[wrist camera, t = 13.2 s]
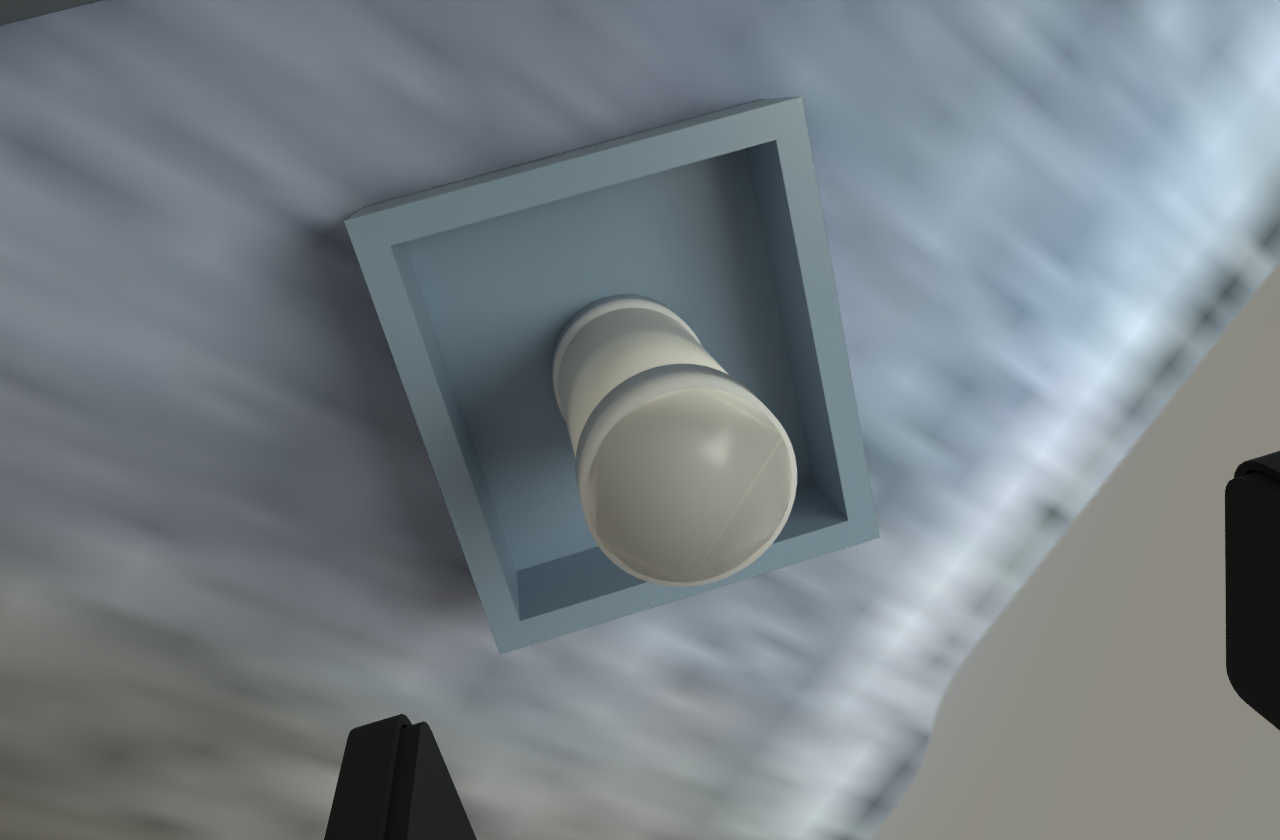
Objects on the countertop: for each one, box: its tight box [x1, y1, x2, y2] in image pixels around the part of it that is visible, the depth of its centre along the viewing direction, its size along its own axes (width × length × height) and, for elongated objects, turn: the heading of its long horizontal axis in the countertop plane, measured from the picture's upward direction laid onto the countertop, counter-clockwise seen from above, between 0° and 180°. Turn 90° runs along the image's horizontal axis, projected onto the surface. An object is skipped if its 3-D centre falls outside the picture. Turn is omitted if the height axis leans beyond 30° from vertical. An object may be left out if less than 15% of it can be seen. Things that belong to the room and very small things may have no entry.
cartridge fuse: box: [551, 294, 797, 587], centre depth 22 cm, size 4×4×9 cm
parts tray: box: [344, 96, 880, 654], centre depth 25 cm, size 11×12×4 cm
